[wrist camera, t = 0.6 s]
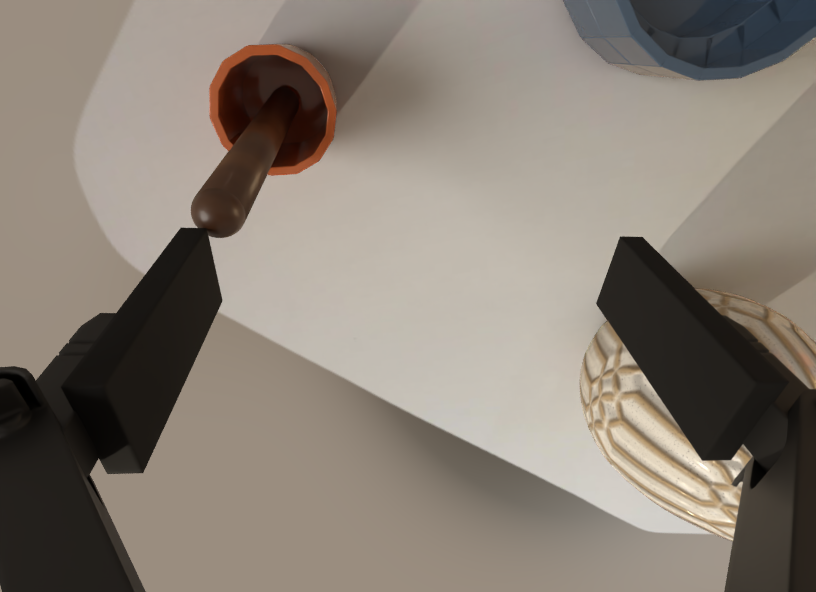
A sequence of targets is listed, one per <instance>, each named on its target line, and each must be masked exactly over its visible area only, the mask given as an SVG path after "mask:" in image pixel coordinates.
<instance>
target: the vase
mask: <svg viewBox="0 0 816 592" xmlns="http://www.w3.org/2000/svg"><path fill="white" fill-rule="evenodd" d="M695 289H696V290H697V291H698V292H699V293H700V294H701V295H702V296H703V297H704V298H705V299H706V300H707V301H708V302H709V303H710V304H711V305H712V306H713V307H714V308H715V309H716V310H717V311H718V312H719V313H720V314H721V315H726V316H728V317H729V318H731V319H732V320H734V321H736V322H737V323H739V324H741V325H742V326H744V327H745V328H746V329H747V330H748V331H749V332H750V333H752V334H753V335H754V336H755V337H756V338H757V339H758V342H761V343H762V344H763V345H764V346H765V347H766V348H767V349H768V350H769V353H772V354H774V355H775V356H776V357H777V358H778V359H779V360H780V361H781V362H782V363H783V364H784V365H785V366H786V367H787V368H788V369H789V370H790V371H791V372H792V373H793V374H794V375H796V376H797V377H798V378H799V379H800V380H801V381H802V382H803V383H804V384H805V385H806V386H807V387H808V388H809V389H816V343H815V342H814V341H813V340H812V339H811V338H810V337H809V336H808V335H807V334H806V333H805V332H804V331H803V330H802V329H801V328H800V327H798V326H797V325H796V324H795V323H793V322H792V321H791V320H790V319H788V318H787V317H785V316H784V315H782V314H780V313H778V312H777V311H775V310H773V309H771V308H769V307H767V306H764V305H762V304H760V303H758V302H756V301H753V300H751V299H748V298H745V297H742V296H739V295H736V294H732V293H728V292H722V291H717V290H710V289H697V288H695ZM580 397H581V404H582V409H583V414H584V417H585V420H586V422H587V425H588V428H589V430H590V432H591V434H592V436H593V438H594V440H595V442H596V444H597V446H598V448H599V449H600V451H601V452H602V454H603V455H604V457H605V458H606V459H607V460H608V462H609V463H610V464H611V465H612V466H613V467H614V469H615V470H616V471H617V472H618V473H619V474H621V475H622V476H623V477H624V478H625V479H626V480H627V481H628V482H629V483H630V484H631V485H633V486H634V487H635V488H636V489H637V490H638V491H640V492H641V493H642V494H644V495H645V496H646V497H647V498H649V499H650V500H651V501H653V502H654V503H656V504H657V505H659V506H660V507H662V508H663V509H665V510H666V511H668V512H670V513H671V514H673V515H675V516H677V517H679V518H681V519H682V520H684V521H686V522H689V523H691V524H693V525H695V526H697V527H699V528H701V529H703V530H705V531H708V532H710V533H712V534H714V535H717V536H720V537H722V538H725V539H727V540H730V541H732V542H733V538H734V532H735V526H736V520H737V514H738V508H739V502H740V496H741V491H742V485H743V482H740V483H739V484H738V486H737V487H735V486H733V485H731V484H732V483H733V481H734V479H735V478H736V477H737V475H738V474H739V473H740V472H741V470H742V469H743V468H744V466H745V465H746V464H747V463H748V461H749V460H750V459H751V458H752V455H751V453H750V452H749V451H748V450H747V448H746V447H745V446H744V444H743V445H742V446H741V447H740V449H739V450H738V451H737V453H736V454H735V456H734V457H733V458H732V460H717V461H702V460H701V458H700V457H699V456H698V454H697V453H696V451H695V450H694V448H693V447H692V445H691V444H690V442H689V441H688V439H687V438H686V436H685V435H684V433H683V432H682V430H681V429H680V427H679V426H678V424H677V423H676V421H675V420H674V418H673V417H672V415H671V414H670V412H669V411H668V409H667V408H666V407H665V405H664V404H663V402H662V401H661V399H660V398H659V396H658V395H657V393H656V392H655V390H654V389H653V387H652V386H651V384H650V383H649V381H648V380H647V378H646V377H645V375H644V374H643V372H642V371H641V369H640V368H639V366H638V365H637V363H636V362H635V361H634V359H633V358H632V356H631V355H630V353H629V352H628V350H627V349H626V347H625V346H624V344H623V343H622V341H621V340H620V338H619V337H618V335H617V334H616V332H615V331H614V329H613V328H612V326H611V325H610V323H609V322H608V320H607V321H606V322H605V323H604V324H603V326H602V327H601V328H600V329H599V330H598V332H597V333H596V335H595V336H594V338H593V339H592V341H591V343H590V345H589V347H588V349H587V351H586V353H585V356H584V359H583V362H582V367H581V374H580Z"/></svg>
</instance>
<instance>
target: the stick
mask: <svg viewBox="0 0 816 592" xmlns="http://www.w3.org/2000/svg"><path fill="white" fill-rule="evenodd" d="M298 108H299V100H298V97H297V95H296V94H295V92H294V91H292V90H291V89H289V88H286V87H281V88H278V89H276V90H274V91H273V93H272V94H271V95H270V97H269V98H268V99H267V101H266V102H265V103H264V105H263V106H262V107H261V109H260V110H259V111H258V113H257V114H256V116H255V117H254V118H253V120H252V121H251V122H250V124H249V125H248V126H247V128H246V129H245V130H244V132H243V133H242V134H241V136H240V137H239V138H238V140H237V141H236V142H235V144H234V145H233V146H232V148H231V149H230V150H229V152H228V153H227V154H226V156H225V157H224V158H223V160H222V161H221V162H220V164H219V165H218V166H217V168H216V169H215V171H214V172H213V173H212V175H211V176H210V177H209V179H208V180H207V181H206V183H205V184H204V185H203V187H202V188H201V189H200V191H199V192H198V193H197V195H196V196H195V198H194V199H193V202H192V205H191V216H192V219H193V221H194V223H195V225H196V226H197V227H198V228H207V232H208V236H211V237H216V238H225V237H229V236H232V235H233V234H235V233H237V232H238V231H239V230H240V229H241V228H242V226H243V224H244V222H245V220H246V218H247V216H248V214H249V212H250V210H251V208H252V205H253V203H254V201H255V199H256V197H257V195H258V193H259V191H260V189H261V187H262V184H263V182H264V180H265V178H266V176H267V174H268V172H269V170H270V168H271V166H272V163H273V161H274V159H275V157H276V155H277V153H278V151H279V149H280V147H281V145H282V142H283V140H284V138H285V136H286V134H287V132H288V130H289V128H290V126H291V124H292V121H293V119H294V117H295V115H296V113H297V111H298Z"/></svg>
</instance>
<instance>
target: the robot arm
mask: <svg viewBox="0 0 816 592" xmlns="http://www.w3.org/2000/svg"><path fill="white" fill-rule="evenodd" d="M221 303H222V296H221V292H220V287H219V283H218V278H217V274H216V269H215V264H214V260H213V255H212V251H211V246H210V242H209V237H208V232H207V228H180V230H179V231H178V232H177V234H176V235H175V236H174V238H173V239H172V240H171V242H170V243H169V244H168V245H167V247H166V248H165V249H164V251H163V252H162V253H161V255H160V256H159V257H158V259H157V260H156V261H155V263H154V264H153V265H152V267H151V268H150V269H149V271H148V272H147V273H146V275H145V276H144V277H143V279H142V280H141V281H140V282H139V284H138V285H137V287H136V288H135V289H134V290H133V292H132V293H131V294H130V296H129V297H128V298H127V300H126V301H125V302H124V304H123V305H122V307H121V308H120V309H119V310H118V312H117V313H100V314H99V315H97V316H96V317H94V318H92V319H91V320H89V321H88V322H86V323H85V324H83V325H82V326H81V327H80V328H79V329H78V331H77V332H76V333H75V334H74V335H73V336H72V338H71V339H70V340H69V343H67V344H66V345H65V346H64V347H63V349H62V350H61V351H60V352H59V356H56V357H55V358H54V359H53V361H52V362H51V363H50V364H49V365H48V367H47V368H46V369H45V370H44V371H43V373H42V374H41V375H40V376H39V378H38V379H37V380H36V381H35V379H34V377H33V375H32V374H31V373H30V372H29V371H28V370H27V369H24V368H20V367H15V366H13V367H0V585H1V589H2V592H145V589H144V587H143V586H142V583H141V581H140V579H139V577H138V575H137V572H136V570H135V568H134V566H133V564H132V562H131V560H130V558H129V556H128V554H127V551H126V549H125V547H124V545H123V543H122V541H121V539H120V536H119V534H118V532H117V530H116V528H115V526H114V524H113V522H112V519H111V517H110V515H109V513H108V511H107V509H106V507H105V505H104V502H103V500H102V498H101V496H100V494H99V492H98V490H97V488H96V485H95V483H94V481H93V480H92V478H91V476H90V473H91V471H92V469H93V467H94V465H95V464H96V462H97V460H98V458H99V459H100V461H101V463H102V465H103V467H104V469H105V470H106V472H107V474H121V473H122V474H123V473H143V472H144V470H145V468H146V466H147V463H148V461H149V459H150V457H151V455H152V453H153V450H154V448H155V446H156V444H157V442H158V439H159V437H160V435H161V433H162V431H163V429H164V427H165V424H166V422H167V420H168V418H169V415H170V413H171V411H172V409H173V407H174V405H175V403H176V401H177V398H178V396H179V394H180V392H181V389H182V387H183V385H184V383H185V381H186V379H187V377H188V374H189V372H190V370H191V368H192V366H193V364H194V362H195V359H196V357H197V355H198V353H199V351H200V349H201V346H202V344H203V342H204V340H205V338H206V335H207V333H208V331H209V329H210V327H211V325H212V323H213V320H214V318H215V316H216V314H217V312H218V309H219V307H220V305H221ZM596 304H597V306H598V307H599V309H600V310H601V312H602V313H603V314H604V316H605V317H606V319H607V320H608V322H609V323H610V325H611V326H612V328H613V329H614V331H615V332H616V334H617V335H618V337H619V338H620V340H621V341H622V343H623V344H624V346H625V347H626V349H627V350H628V352H629V353H630V355H631V356H632V358H633V359H634V361H635V362H636V363H637V365H638V366H639V368H640V369H641V371H642V372H643V374H644V375H645V377H646V378H647V380H648V381H649V383H650V384H651V386H652V387H653V389H654V390H655V392H656V393H657V395H658V396H659V398H660V399H661V401H662V402H663V404H664V405H665V407H666V408H667V409H668V411H669V412H670V414H671V415H672V417H673V418H674V420H675V421H676V423H677V424H678V426H679V427H680V429H681V430H682V432H683V433H684V435H685V436H686V438H687V439H688V441H689V442H690V444H691V445H692V447H693V448H694V450H695V451H696V453H697V454H698V456H699V457H700V458H701V460H702V461H717V460H732V458H733V457H734V456H735V454H736V453H737V451H738V450H739V449H740V447H741V446H742V445H743V444H744V446H745V447H746V448H747V450H748V451H749V452H750V453H751V455H752V458H751V459H750V460H749V461H748V463H747V464H746V465H745V466H744V468H743V469H742V470H741V472H740V473H739V474H738V475H737V477H736V478H735V479H734V481H733V483H732V484H731V485H733V486H735V487H737V486H738V484H739V483H740V482H743V485H742V491H741V496H740V502H739V508H738V514H737V520H736V526H735V532H734V538H733V544H732V550H731V556H730V562H729V567H728V574H727V580H726V586H725V592H816V389H809V388H808V387H807V386H806V385H805V384H804V383H803V382H802V381H801V380H800V379H799V378H798V377H797V376H796V375H794V374H793V373H792V372H791V371H790V370H789V369H788V368H787V367H786V366H785V365H784V364H783V363H782V362H781V361H780V360H779V359H778V358H777V357H776V356H775V355H774V354H772V353H769V350H768V349H767V348H766V347H765V346H764V345H763V344H762V343H761V342H758V339H757V338H756V337H755V336H754V335H753V334H752V333H750V332H749V331H748V330H747V329H746V328H745V327H744V326H742V325H741V324H739V323H737V322H736V321H734V320H732V319H731V318H729V317H728V316H726V315H721V314H720V313H719V312H718V311H717V310H716V309H715V308H714V307H713V306H712V305H711V304H710V303H709V302H708V301H707V300H706V299H705V298H704V297H703V296H702V295H701V294H700V293H699V292H698V291H697V290H696V289H695V288H694V287H693V286H692V285H691V284H689V283H688V282H687V281H686V280H685V279H684V278H683V277H682V276H681V275H680V274H679V273H678V272H677V271H676V270H675V269H674V268H673V267H672V266H671V265H670V264H669V263H668V262H667V261H666V260H665V259H664V258H663V257H662V256H661V255H660V254H659V253H658V252H657V251H656V250H655V249H654V248H653V247H652V246H651V245H650V244H649V243H648V242H647V241H646V240H645V239H644V238H643V237H620V239H619V241H618V244H617V247H616V250H615V253H614V255H613V258H612V261H611V264H610V267H609V269H608V272H607V275H606V278H605V281H604V283H603V286H602V289H601V292H600V295H599V297H598V300H597V303H596Z"/></svg>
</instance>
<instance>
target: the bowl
mask: <svg viewBox="0 0 816 592" xmlns="http://www.w3.org/2000/svg"><path fill="white" fill-rule="evenodd" d="M563 2H564V4H565V6H566V8H567V10H568V12H569V14H570V16H571V18H572V20H573V23H574V25H575V27H576V29H577V31H578V33H579V35H580V37H581V38H582V39H583V40H584V41H585V42H586V43H587V44H588V45H589V46H590V47H591V48H592V49H593V50H594V51H595V52H596V53H597V54H599V55H600V56H601V57H602V58H603V59H604V60H605V61H606V62H608V64H611V65H614V66H617V67H619V68H622V69H625V70H628V71H630V72H633V73H636V74H639V75H648V76H658V77H668V78H678V79H688V80H698V81H701V80H720V79H738V78H742V77H744V76H747V75H749V74H752V73H755V72H757V71H760V70H762V69H765V68H767V67H770V66H772V65H775V64H777V63H780V62H782V61H784V60H786V59H787V58H788V57H790V56H791V55H793V54H794V53H795V52H797V51H798V50H799V49H801V48H802V47H803V46H805V45H806V44H807V43H809V42H810V41H812V40H813V39H814V38H816V0H563Z"/></svg>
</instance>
